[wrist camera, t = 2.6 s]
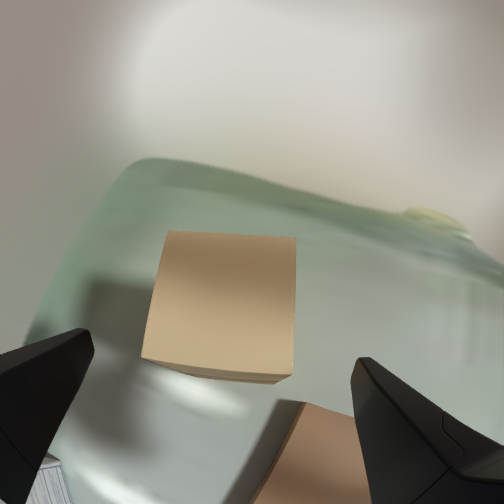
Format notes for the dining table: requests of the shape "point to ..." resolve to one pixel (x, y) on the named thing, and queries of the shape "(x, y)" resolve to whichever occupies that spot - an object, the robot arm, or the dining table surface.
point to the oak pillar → (224, 307)
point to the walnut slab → (317, 462)
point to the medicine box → (49, 485)
